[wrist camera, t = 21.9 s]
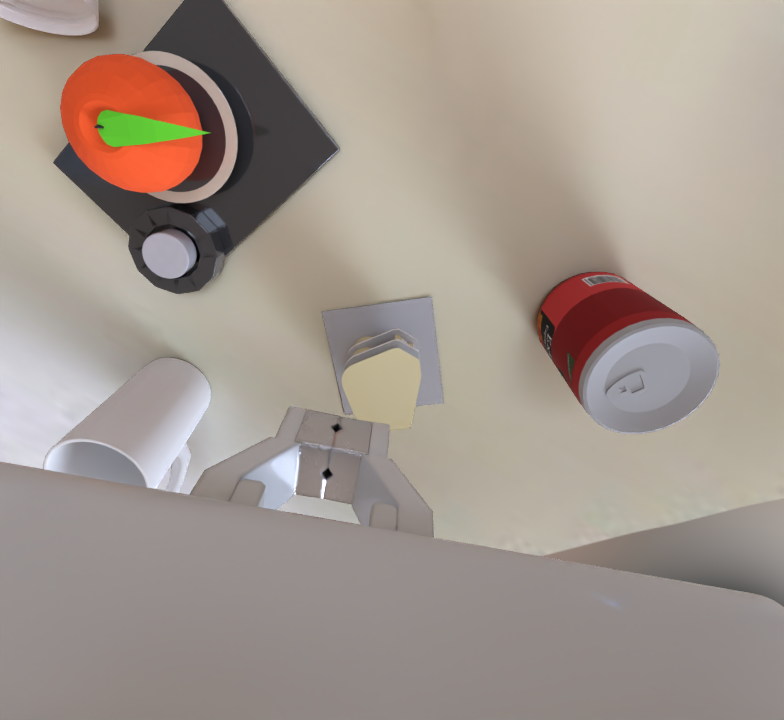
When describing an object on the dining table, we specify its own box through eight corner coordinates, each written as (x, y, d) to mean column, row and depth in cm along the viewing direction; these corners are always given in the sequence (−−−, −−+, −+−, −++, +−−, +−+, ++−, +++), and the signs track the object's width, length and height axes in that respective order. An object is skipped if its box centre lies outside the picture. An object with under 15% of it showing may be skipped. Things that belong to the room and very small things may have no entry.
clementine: (230, 66, 27) (179, 47, 21) (241, 189, 31) (200, 205, 24) (95, 59, 27) (3, 38, 21) (121, 183, 30) (47, 197, 24)
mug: (124, 360, 39) (21, 447, 29) (197, 347, 39) (121, 431, 28) (170, 453, 44) (97, 557, 33) (237, 442, 43) (184, 546, 33)
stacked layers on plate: (443, 402, 41) (449, 440, 36) (345, 414, 42) (337, 452, 37) (431, 296, 37) (436, 322, 32) (321, 311, 37) (309, 339, 32)
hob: (207, -21, 28) (190, -34, 25) (346, 155, 32) (342, 157, 30) (54, 167, 33) (29, 169, 30) (192, 298, 37) (179, 309, 35)
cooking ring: (157, 14, 26) (155, 14, 26) (265, 142, 29) (265, 142, 29) (72, 121, 29) (70, 121, 29) (180, 229, 32) (178, 229, 32)
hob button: (171, 218, 32) (160, 222, 31) (206, 254, 33) (198, 259, 32) (143, 247, 33) (131, 253, 32) (178, 281, 34) (168, 288, 33)
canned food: (515, 315, 37) (557, 382, 27) (600, 246, 35) (680, 293, 25) (569, 375, 40) (625, 457, 30) (653, 315, 37) (744, 383, 27)
